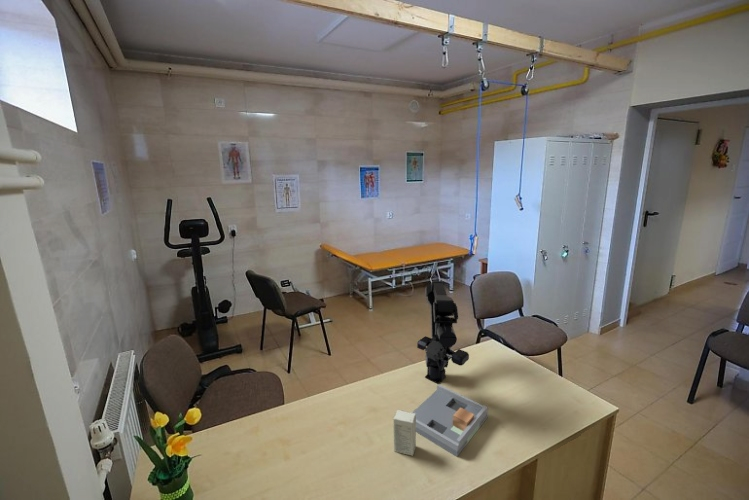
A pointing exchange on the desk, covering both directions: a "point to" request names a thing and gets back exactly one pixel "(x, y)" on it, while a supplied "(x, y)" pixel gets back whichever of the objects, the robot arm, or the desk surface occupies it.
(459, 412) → the block
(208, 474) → the desk surface
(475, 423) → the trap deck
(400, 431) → the skincare box
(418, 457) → the desk surface
